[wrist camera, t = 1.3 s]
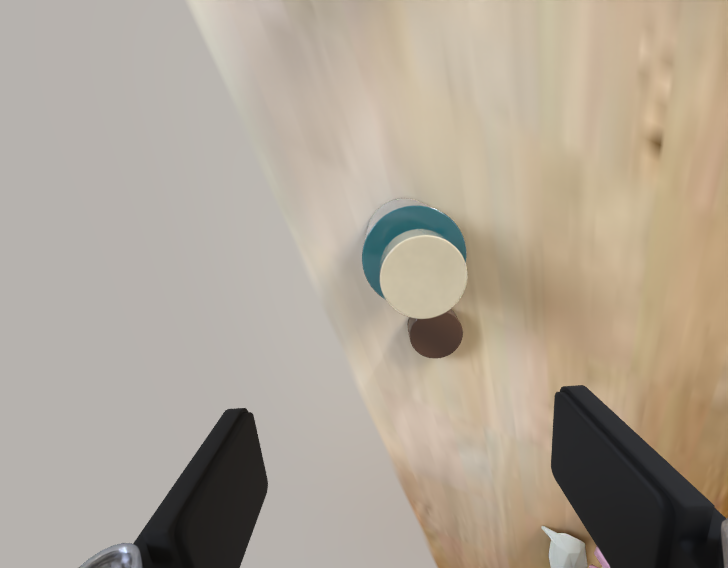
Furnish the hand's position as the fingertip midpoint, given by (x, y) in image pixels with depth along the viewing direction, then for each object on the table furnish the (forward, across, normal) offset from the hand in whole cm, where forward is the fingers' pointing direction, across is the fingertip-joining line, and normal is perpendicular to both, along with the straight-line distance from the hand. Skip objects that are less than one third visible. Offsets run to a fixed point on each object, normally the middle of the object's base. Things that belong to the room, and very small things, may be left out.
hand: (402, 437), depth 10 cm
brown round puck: (+24, -4, +7) cm, 26 cm away
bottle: (+24, -2, -3) cm, 24 cm away
